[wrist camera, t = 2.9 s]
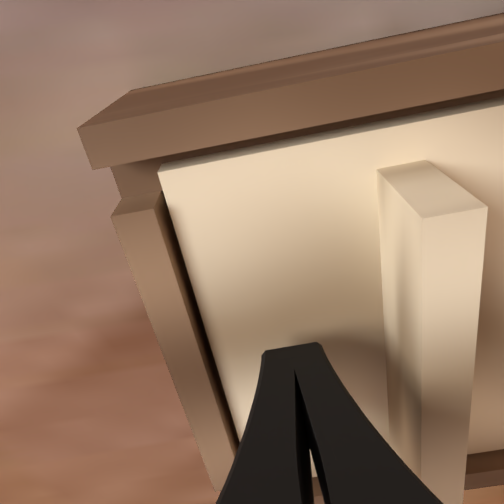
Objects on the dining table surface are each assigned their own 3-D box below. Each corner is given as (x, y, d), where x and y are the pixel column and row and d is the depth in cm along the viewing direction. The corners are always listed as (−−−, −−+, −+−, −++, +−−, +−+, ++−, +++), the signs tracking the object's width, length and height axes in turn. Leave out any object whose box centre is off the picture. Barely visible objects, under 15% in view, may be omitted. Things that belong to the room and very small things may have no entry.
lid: (554, 423, 14) (632, 523, 11) (252, 468, 14) (256, 574, 12) (634, 71, 9) (814, 95, 6) (161, 163, 9) (130, 224, 7)
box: (493, 366, 18) (572, 474, 13) (229, 409, 18) (227, 524, 14) (534, 6, 11) (705, 0, 7) (131, 89, 12) (76, 128, 8)
